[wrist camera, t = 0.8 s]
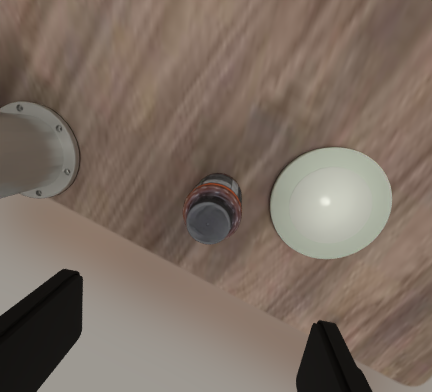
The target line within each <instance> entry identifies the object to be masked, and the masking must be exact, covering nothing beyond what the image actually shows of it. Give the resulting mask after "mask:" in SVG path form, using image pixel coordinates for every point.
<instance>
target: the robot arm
mask: <svg viewBox="0 0 432 392" xmlns="http://www.w3.org/2000/svg"><path fill="white" fill-rule="evenodd" d="M78 168H79V149H78V145H77V142H76V139H75V137H74V135H73V132H72V131H71V129H70V128H69V126H68V125H67V123H66V122H65V121H64V120H63V119H62V118H61V117H60V116H59V115H58V114H57V113H55V112H54V111H53V110H51V109H49V108H47V107H45V106H43V105H40V104H37V103H31V102H20V101H19V102H13V103H9V104H7V105H5V106H3V107H1V108H0V198H3V197H7V196H10V195H15V194H18V193H20V194H22V195H24V196H27V197H32V198H48V197H51V196H55V195H57V194H59V193H62V192H63V191H64V190H66V189H67V188H68V187H69V186H70V185H71V184H72V183H73V181H74V179H75V177H76V175H77V172H78ZM82 292H83V278H82V276H80V274H79V272H78V271H73V270H68V269H62V270H61V271H59V272H58V273H57V274H55V275H54V276H53V277H51V278H50V279H49V280H48V281H46V282H45V283H43V284H42V285H41V286H39V287H38V288H37V289H36V290H34V291H33V292H32V293H30V294H29V295H28V296H26V297H25V298H24V299H22V300H21V301H20V302H19V303H17V304H16V305H14V306H13V307H12V308H10V309H9V310H8V311H6V312H5V313H4V314H2V315H1V316H0V392H37V390H38V389H39V388H40V386H41V385H42V384H43V383H44V382H45V380H46V379H47V378H48V377H49V375H50V374H51V373H52V372H53V370H54V369H55V368H56V366H57V365H58V364H59V363H60V362H61V360H62V359H63V358H64V356H65V355H66V354H67V353H68V351H69V350H70V349H71V348H72V346H73V345H74V344H75V343H76V341H77V340H78V338H79V337H80V335H81V332H82V295H83V294H82ZM296 387H297V392H372V390H371V388H370V386H369V384H368V382H367V380H366V378H365V376H364V374H363V373H362V371H361V370H360V369H359V368H358V367H357V366H356V364H355V362H354V360H353V358H352V356H351V354H350V352H349V349H348V347H347V345H346V343H345V341H344V339H343V337H342V335H341V333H340V331H339V329H338V327H337V325H336V324H335V323H331V322H326V321H321V320H319V321H318V322H317V324H316V323H313V325H312V328H311V331H310V334H309V337H308V341H307V344H306V348H305V351H304V354H303V357H302V360H301V364H300V367H299V370H298V374H297V378H296Z"/></svg>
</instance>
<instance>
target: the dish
mask: <svg viewBox="0 0 432 392" xmlns="http://www.w3.org/2000/svg"><path fill="white" fill-rule="evenodd" d="M391 206H392V192H391V187H390V183H389V181H388V178H387V176H386V174H385V173H384V171H383V170H382V169H381V167H380V166H379V165H378V164H377V163H376V162H375V161H374V160H372V159H371V158H370V157H368V156H366V155H365V154H362V153H360V152H358V151H355V150H351V149H346V148H340V147H326V148H319V149H315V150H312V151H309V152H307V153H305V154H303V155H301V156H299V157H297V158H296V159H294V160H293V161H292V162H291V163H289V164H288V165H287V166H286V167H285V168H284V170H283V171H282V172H281V173H280V175H279V176H278V178H277V180H276V182H275V183H274V186H273V189H272V192H271V197H270V213H271V218H272V221H273V224H274V226H275V229H276V231H277V232H278V234H279V236H280V237H281V238H282V240H283V241H284V242H285V243H286V244H287V245H288V246H290V247H291V248H292V249H294V250H295V251H297V252H299V253H301V254H303V255H306V256H309V257H313V258H318V259H335V258H341V257H345V256H348V255H351V254H353V253H356V252H358V251H359V250H361V249H363V248H364V247H366V246H367V245H369V244H370V243H371V242H372V241H373V240H374V239H375V238H376V237H377V236H378V235H379V234H380V232H381V231H382V229H383V228H384V226H385V224H386V222H387V220H388V218H389V215H390V211H391Z"/></svg>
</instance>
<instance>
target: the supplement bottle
mask: <svg viewBox="0 0 432 392" xmlns="http://www.w3.org/2000/svg"><path fill="white" fill-rule="evenodd" d="M241 200H242V198H241V190H240V187H239V185H238V184H237V182H236V181H235V180H234V179H233V178H232V177H230V176H228V175H226V174H222V173H215V174H211V175H208V176H207V177H205V178H204V179H202V180H201V181H200V182H199V184H198V185H197V186H196V187H195V188H194V189H193V190H192V192H191V193H190V194H189V195H188V197H187V198H186V200H185V203H184V206H183V219H184V222H185V225H186V227H187V229H188V232H189V233H190V235H191V236H192V237H193V238H194V239H195V240H196V241H198V242H200V243H203V244H216V243H218V242H220V241H222V240H224V239H226V238H228V237H230V236H231V235H232V234H233V233H234V232H235V231H236V230H237V228H238V226H239V224H240V221H241V216H242V201H241Z"/></svg>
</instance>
